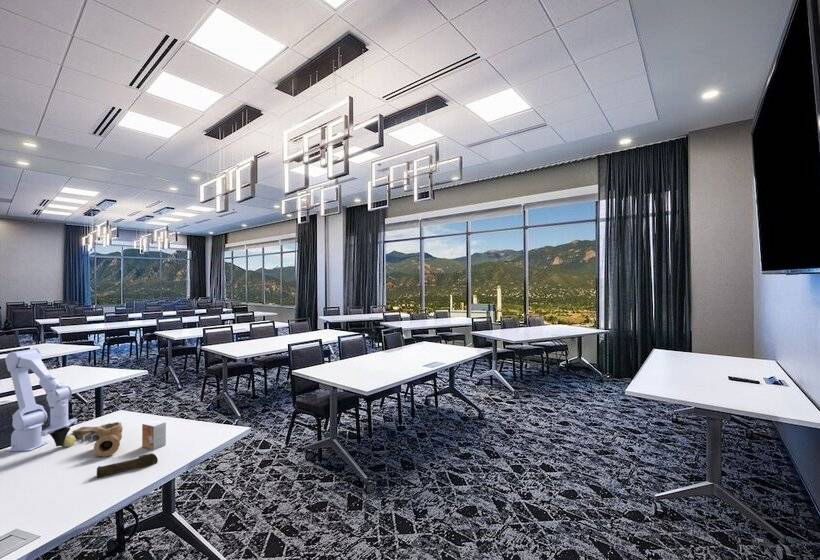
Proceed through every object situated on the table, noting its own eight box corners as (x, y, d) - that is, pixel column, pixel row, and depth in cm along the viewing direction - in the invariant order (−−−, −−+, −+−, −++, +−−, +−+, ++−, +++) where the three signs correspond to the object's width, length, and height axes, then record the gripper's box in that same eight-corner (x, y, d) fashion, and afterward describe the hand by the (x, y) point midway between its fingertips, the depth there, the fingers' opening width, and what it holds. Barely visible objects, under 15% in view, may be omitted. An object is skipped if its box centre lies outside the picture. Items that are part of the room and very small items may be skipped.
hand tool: (95, 480, 135) (95, 467, 135) (98, 474, 139) (98, 463, 139) (156, 466, 145) (156, 455, 145) (157, 462, 148) (157, 451, 148)
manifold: (64, 442, 167) (64, 434, 167) (82, 434, 176) (81, 426, 176) (103, 441, 167) (103, 434, 167) (118, 433, 176) (118, 426, 176)
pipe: (92, 460, 150) (92, 436, 150) (98, 445, 163) (98, 424, 163) (120, 454, 155) (120, 431, 155) (123, 440, 168) (123, 419, 168)
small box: (141, 447, 161) (141, 423, 161) (154, 441, 166) (154, 419, 166) (153, 450, 158) (153, 426, 158) (166, 444, 163) (166, 421, 163)
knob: (77, 443, 165) (77, 432, 165) (67, 448, 160) (67, 437, 160) (67, 443, 165) (67, 432, 165) (56, 448, 160) (56, 437, 160)
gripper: (52, 421, 152) (52, 453, 152) (83, 409, 167) (83, 438, 167) (35, 421, 152) (35, 453, 152) (68, 409, 167) (68, 438, 167)
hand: (59, 445), depth 159 cm, fingers closed
